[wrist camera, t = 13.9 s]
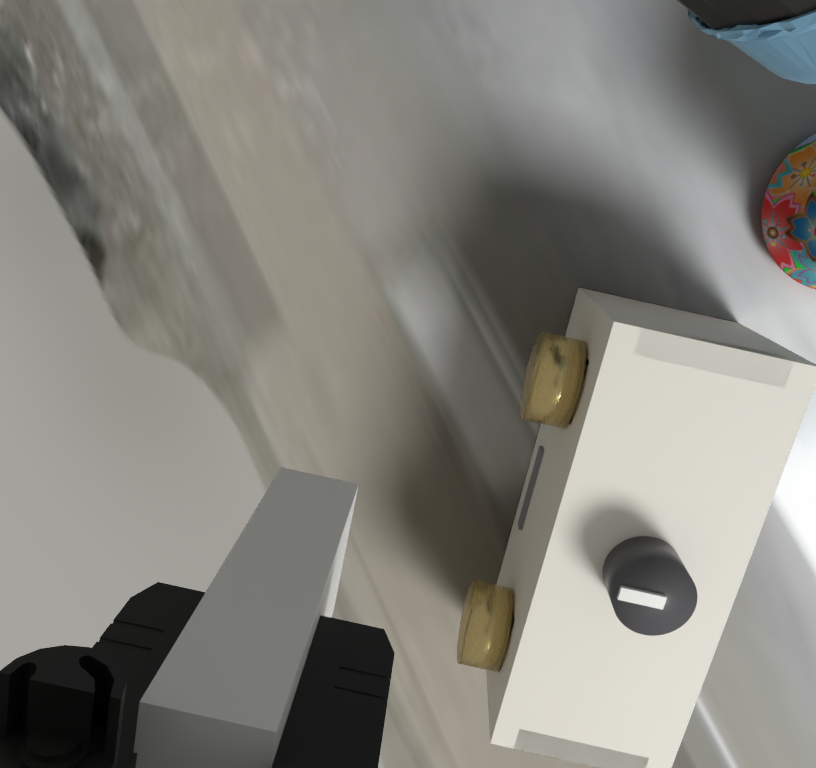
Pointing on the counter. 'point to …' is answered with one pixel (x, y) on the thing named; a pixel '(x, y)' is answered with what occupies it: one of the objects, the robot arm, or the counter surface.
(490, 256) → the counter surface
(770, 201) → the mug
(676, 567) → the dial
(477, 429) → the counter surface
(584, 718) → the console
